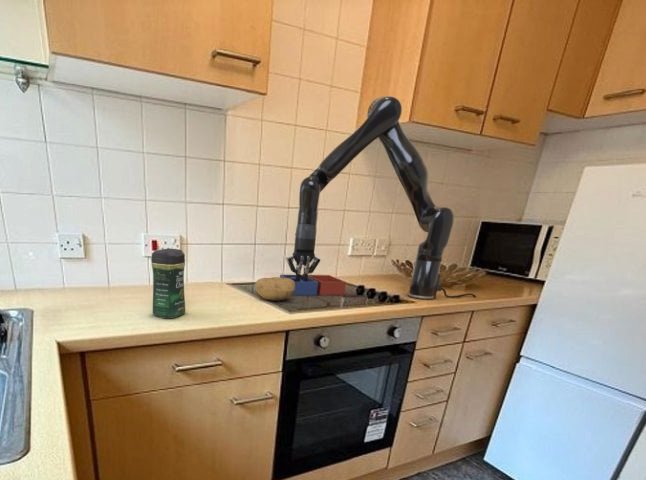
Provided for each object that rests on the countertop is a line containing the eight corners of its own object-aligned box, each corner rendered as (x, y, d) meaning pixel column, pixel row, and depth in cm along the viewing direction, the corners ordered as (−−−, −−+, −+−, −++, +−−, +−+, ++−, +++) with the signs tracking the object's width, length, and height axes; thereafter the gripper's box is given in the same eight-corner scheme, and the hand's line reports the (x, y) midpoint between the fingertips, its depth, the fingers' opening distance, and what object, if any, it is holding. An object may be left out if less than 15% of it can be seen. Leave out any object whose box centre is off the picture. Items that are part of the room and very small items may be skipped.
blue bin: (302, 287, 168) (303, 274, 166) (316, 295, 154) (318, 281, 152) (278, 287, 165) (279, 274, 163) (291, 295, 152) (292, 281, 150)
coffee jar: (173, 320, 112) (171, 251, 105) (148, 316, 115) (145, 248, 108) (189, 313, 121) (189, 248, 114) (166, 309, 123) (165, 246, 116)
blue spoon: (288, 279, 163) (288, 276, 162) (297, 279, 164) (297, 276, 163) (298, 285, 153) (298, 281, 152) (308, 285, 154) (308, 281, 153)
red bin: (328, 287, 170) (329, 275, 168) (344, 295, 157) (346, 282, 155) (305, 287, 168) (306, 274, 166) (319, 295, 154) (321, 281, 152)
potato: (254, 296, 146) (255, 274, 143) (293, 298, 146) (295, 276, 143) (253, 302, 137) (254, 278, 134) (295, 305, 137) (297, 281, 134)
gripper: (291, 237, 144) (287, 286, 150) (326, 238, 147) (321, 286, 154) (284, 235, 151) (280, 282, 157) (318, 236, 154) (313, 282, 160)
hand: (300, 283), depth 155 cm, fingers closed on blue spoon, 1 cm apart
